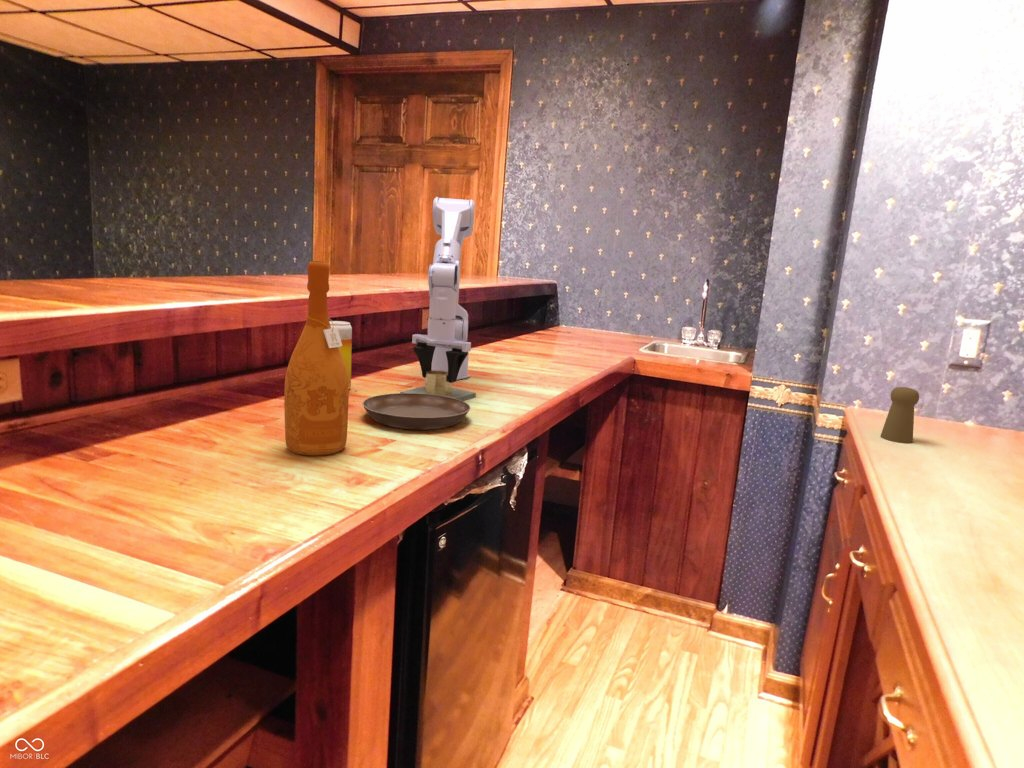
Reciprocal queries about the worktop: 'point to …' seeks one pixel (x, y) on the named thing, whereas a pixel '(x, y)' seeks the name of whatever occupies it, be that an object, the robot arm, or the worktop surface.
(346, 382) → the wine bottle
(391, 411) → the plant saucer
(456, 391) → the post plate
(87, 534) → the worktop surface
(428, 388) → the collar
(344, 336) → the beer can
